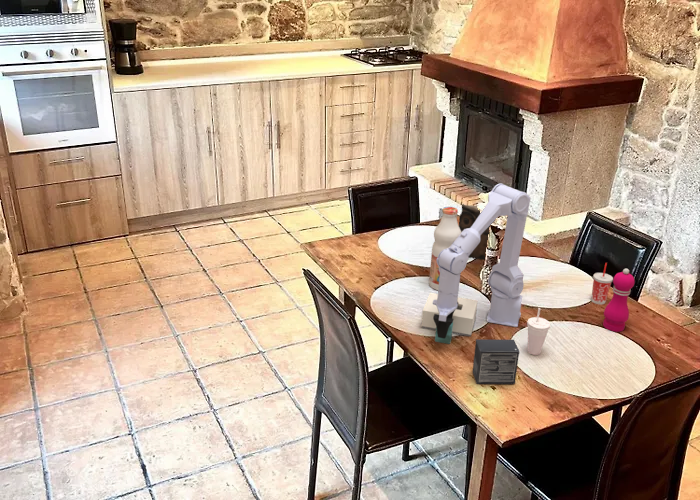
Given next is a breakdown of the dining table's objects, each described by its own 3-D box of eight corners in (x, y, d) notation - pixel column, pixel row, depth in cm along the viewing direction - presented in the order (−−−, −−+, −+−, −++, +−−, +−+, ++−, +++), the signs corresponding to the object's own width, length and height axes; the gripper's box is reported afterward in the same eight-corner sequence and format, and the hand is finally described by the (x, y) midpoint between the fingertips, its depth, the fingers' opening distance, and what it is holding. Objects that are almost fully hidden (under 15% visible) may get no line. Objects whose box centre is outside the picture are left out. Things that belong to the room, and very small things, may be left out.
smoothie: (528, 343, 200) (535, 301, 194) (549, 351, 196) (556, 308, 190) (518, 351, 195) (525, 309, 189) (539, 360, 191) (547, 317, 186)
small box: (509, 370, 186) (514, 338, 182) (515, 385, 180) (520, 351, 176) (471, 370, 186) (475, 337, 181) (476, 384, 180) (480, 351, 175)
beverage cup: (587, 302, 224) (594, 264, 218) (590, 294, 229) (598, 257, 223) (606, 307, 221) (614, 268, 215) (609, 299, 226) (617, 261, 220)
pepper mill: (610, 334, 206) (623, 275, 198) (596, 322, 212) (608, 264, 204) (630, 331, 208) (644, 273, 199) (616, 319, 214) (629, 262, 206)
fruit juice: (444, 277, 237) (452, 202, 226) (462, 288, 230) (470, 211, 218) (423, 282, 233) (429, 206, 221) (440, 294, 225) (448, 216, 214)
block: (451, 339, 200) (453, 322, 197) (449, 344, 198) (451, 326, 195) (436, 337, 201) (437, 319, 198) (434, 341, 199) (436, 323, 196)
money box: (475, 317, 212) (477, 300, 210) (470, 336, 202) (472, 319, 199) (428, 309, 216) (430, 292, 213) (421, 327, 205) (422, 310, 203)
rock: (497, 259, 252) (504, 209, 244) (468, 263, 248) (474, 212, 239) (479, 245, 263) (485, 197, 255) (451, 250, 258) (456, 201, 250)
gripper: (438, 276, 200) (434, 316, 205) (429, 298, 187) (425, 340, 192) (462, 280, 198) (457, 320, 203) (455, 303, 185) (450, 345, 191)
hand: (443, 330), depth 198 cm, fingers open, 7 cm apart
